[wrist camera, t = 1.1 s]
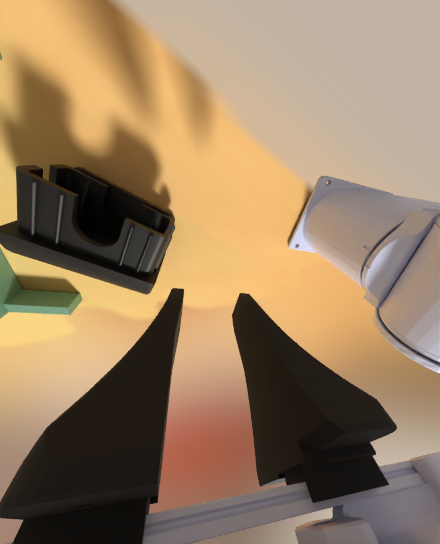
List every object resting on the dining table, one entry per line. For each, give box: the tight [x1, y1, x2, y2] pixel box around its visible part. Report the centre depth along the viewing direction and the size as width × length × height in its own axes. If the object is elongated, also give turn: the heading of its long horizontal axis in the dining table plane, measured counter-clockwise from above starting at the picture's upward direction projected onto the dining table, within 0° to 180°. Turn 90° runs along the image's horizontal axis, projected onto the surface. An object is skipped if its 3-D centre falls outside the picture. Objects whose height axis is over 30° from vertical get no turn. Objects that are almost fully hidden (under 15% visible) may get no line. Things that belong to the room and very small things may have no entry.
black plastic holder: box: [0, 165, 175, 294], centre depth 14 cm, size 10×7×7 cm
